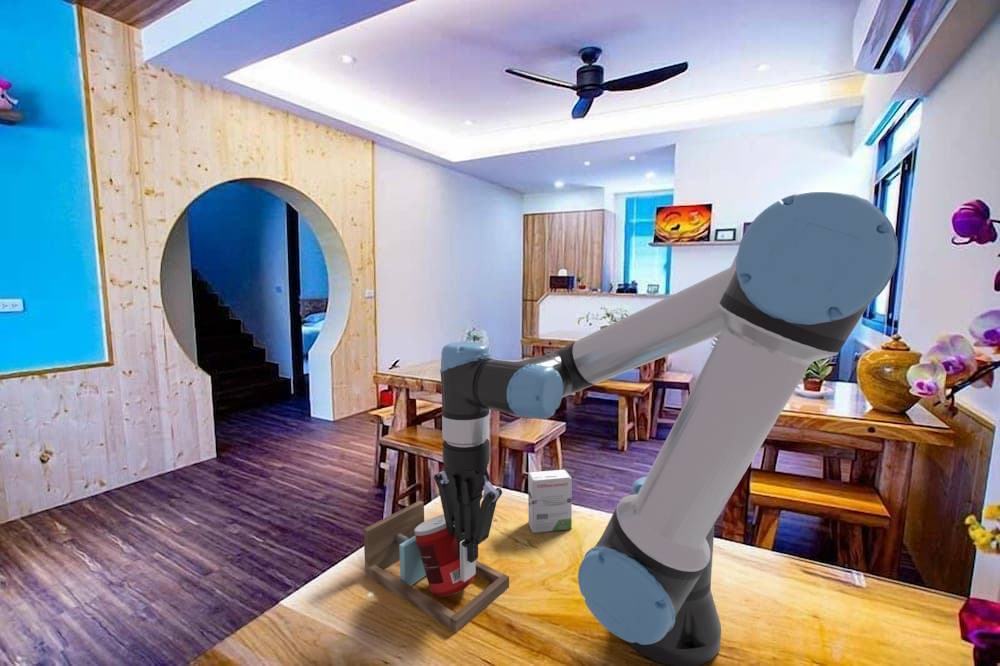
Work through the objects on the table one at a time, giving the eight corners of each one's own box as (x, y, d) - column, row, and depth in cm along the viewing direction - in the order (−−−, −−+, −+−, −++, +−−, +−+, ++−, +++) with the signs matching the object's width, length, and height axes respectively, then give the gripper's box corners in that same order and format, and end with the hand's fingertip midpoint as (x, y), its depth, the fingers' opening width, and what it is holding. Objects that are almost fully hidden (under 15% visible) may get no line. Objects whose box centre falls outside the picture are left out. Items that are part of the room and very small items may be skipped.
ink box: (565, 518, 106) (566, 467, 104) (572, 530, 101) (573, 477, 99) (527, 522, 104) (527, 470, 103) (532, 534, 99) (532, 480, 98)
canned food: (480, 570, 84) (463, 509, 85) (466, 593, 77) (447, 525, 78) (442, 578, 86) (425, 518, 87) (424, 601, 78) (406, 535, 79)
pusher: (447, 561, 90) (446, 522, 89) (405, 589, 82) (404, 547, 81) (435, 555, 92) (434, 517, 91) (393, 582, 84) (391, 540, 83)
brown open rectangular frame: (509, 587, 83) (509, 538, 82) (456, 633, 72) (455, 578, 71) (420, 542, 96) (419, 500, 95) (365, 575, 86) (363, 528, 85)
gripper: (511, 440, 75) (511, 579, 78) (453, 425, 83) (455, 552, 86) (481, 455, 69) (482, 605, 72) (421, 437, 77) (424, 573, 80)
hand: (467, 576), depth 79 cm, fingers closed
